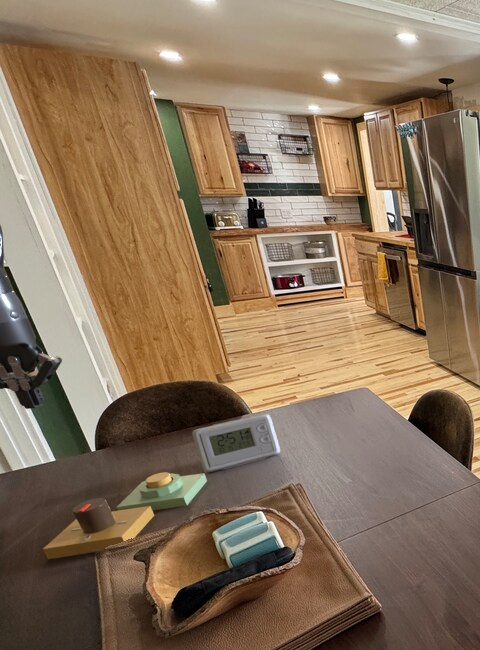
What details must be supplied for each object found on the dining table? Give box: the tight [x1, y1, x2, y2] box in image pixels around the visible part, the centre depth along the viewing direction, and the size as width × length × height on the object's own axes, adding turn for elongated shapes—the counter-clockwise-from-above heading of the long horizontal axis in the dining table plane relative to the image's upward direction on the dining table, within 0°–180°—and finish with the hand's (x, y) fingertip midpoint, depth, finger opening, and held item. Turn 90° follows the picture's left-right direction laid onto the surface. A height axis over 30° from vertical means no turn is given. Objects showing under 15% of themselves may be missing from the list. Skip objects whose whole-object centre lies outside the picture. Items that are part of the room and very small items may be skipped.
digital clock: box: [191, 413, 281, 473], centre depth 119 cm, size 16×9×11 cm, turn 116°
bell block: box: [115, 473, 208, 512], centre depth 106 cm, size 12×10×4 cm
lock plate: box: [42, 506, 155, 560], centre depth 94 cm, size 12×10×3 cm
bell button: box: [145, 471, 172, 489], centre depth 105 cm, size 4×4×2 cm
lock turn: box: [72, 497, 116, 533], centre depth 92 cm, size 5×5×5 cm
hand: (34, 406), depth 91 cm, fingers closed
